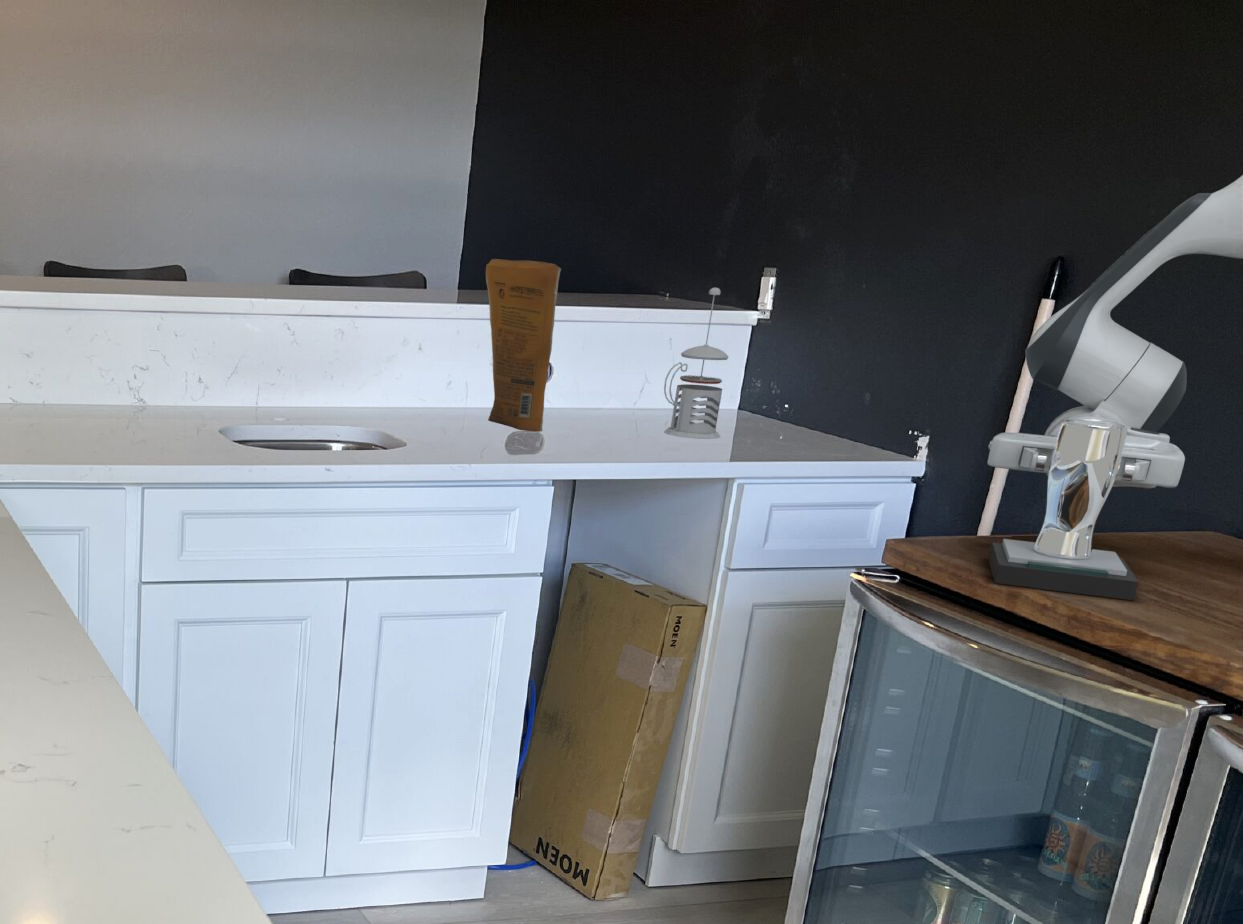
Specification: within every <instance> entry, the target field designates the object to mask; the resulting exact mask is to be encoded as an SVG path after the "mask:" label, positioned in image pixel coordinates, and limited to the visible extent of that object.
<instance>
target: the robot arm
mask: <svg viewBox="0 0 1243 924" xmlns="http://www.w3.org/2000/svg"><path fill="white" fill-rule="evenodd" d="M1196 254H1199V255H1211V256H1220V257H1226V258H1233V259H1242V260H1243V174H1242V175H1241V176H1240V177H1238V178H1237V179H1236V180H1234V181H1233V182H1231V183H1229V184H1228V185H1227V186H1225V187H1223V188H1221V189H1219V190H1217V191H1215V192H1212V193H1211V192H1198V193H1196V194H1195V195H1194V194H1193V196H1191V197H1189V198H1187V199H1186V200H1185V201H1183V202H1182V203H1180V204H1179V205H1177V206H1176V207H1175V208H1174V209H1173V210H1171V211H1170V212H1169V213H1168V214H1167V215H1166V216H1164V218H1163V219H1162V220H1161V221H1159V222H1158V223H1157V224H1156V225H1154V227H1152V228H1151V229H1149V230H1148V231H1147V232H1146V233H1145V234H1144V235H1143V236H1141V238H1140V239H1138V241H1136V242H1135V243H1134V244H1133V245H1132V246H1130V248H1129V249H1128V250H1126V252H1124V254H1123V255H1121V256H1119V258H1118V259H1116V261H1115V262H1114V263H1112V264H1111V265H1110V266H1109V267H1108V268H1107V269H1106V270H1105V271H1104V272H1103V273H1102V274H1101V275H1100V276H1099V277H1097V278H1096V280H1094V282H1092V283H1091V284H1090V285H1089V286H1088V287H1087V288H1085V290H1084V291H1083V292H1082V293H1081V294H1079V295H1078V296H1077V297H1076V298H1075V299H1074V300H1072V301H1071V302H1070V303H1068V304H1067V305H1065V306H1063V308H1061V309H1060V310H1058V311H1057V312H1055V313H1054V314H1053V315H1051V316H1049V318H1048V319H1047V320H1046V321H1044V323H1042V324H1041V325H1040V326H1039V328H1038V329H1037V330H1036V331H1035V333H1034V334H1033V335H1032V337H1031V339H1030V340H1029V342H1028V344H1027V347H1026V348H1025V349H1024V352H1025V353H1024V354H1025V362H1026V367H1027V370H1028V372H1029V375H1030V377H1031V379H1032V380H1034V381H1036V382H1038V383H1041V384H1042V385H1045V386H1047V387H1049V388H1050V389H1053V390H1055V391H1059V392H1061V393H1063V394H1064V395H1066V396H1068V397H1069V398H1071V399H1073V400H1075V401H1077V402H1078V403H1080V404H1081V406H1076V407H1073V408H1070V409H1068V410H1066V411H1064V412H1062V413H1061V414H1059V415H1058V416H1057V417H1056V418H1055V419H1053V421H1052V422H1051V423H1050V424H1049V426H1048V427H1047V428H1046V430H1045V432H1044V434H1043V435H1042V434H1035V433H1034V434H1033V433H1024V432H1000V433H998V434H996V435H994V436H993V438H992V440H990V442H988V445H987V447H988V450H989V454H988V459H987V465H988V466H990V467H993V468H997V469H1003V470H1004V469H1005V470H1012V471H1021V472H1031V473H1037V474H1038V473H1040V474H1045V475H1046V476H1047V477H1048V473H1049V466H1050V461H1051V456H1052V453H1053V449H1054V445H1055V442H1056V439H1057V436H1058V434H1059V431H1060V428H1061V425H1062V421H1063V419H1066V418H1082V419H1095V420H1104V421H1111V422H1117V423H1121V424H1125V425H1127V426H1128V429H1127V434H1126V440H1125V445H1124V451H1123V456H1122V460H1121V464H1120V467H1119V471H1118V474H1117V477H1116V479H1115V482H1114V484H1113V487H1112V488H1132V489H1134V488H1135V489H1154V488H1156V487H1161V488H1167V489H1175V488H1176V487H1178V485H1179V482H1180V481H1181V477H1182V473H1183V469H1184V465H1185V461H1186V457H1185V454H1184V452H1183V451H1182V450H1181V449H1180V447H1178V446H1177V444H1176V445H1175V444H1174V443H1171V442H1170V439H1171V437H1170V435H1168V434H1167V433H1162V432H1158V431H1159V430H1160V429H1161V428H1162V427H1163V426H1164V424H1166V422H1168V420H1169V419H1170V417H1171V416H1172V415H1173V414H1174V412H1175V411H1176V410H1177V408H1178V406H1179V405H1180V403H1181V402H1182V399H1183V397H1184V395H1185V393H1186V390H1187V382H1188V381H1187V380H1188V379H1187V378H1188V375H1187V373H1188V372H1187V367H1186V364H1185V361H1183V360H1181V359H1179V358H1178V357H1176V356H1174V355H1173V354H1171V353H1169V352H1168V351H1166V350H1164V349H1162V348H1161V347H1160V346H1158V345H1156V344H1154V343H1153V342H1151V341H1150V342H1149V341H1147V340H1146V339H1144V338H1142V337H1141V336H1139V335H1138V334H1136V333H1134V332H1132V331H1130V330H1129V329H1127V328H1125V327H1124V326H1122V325H1120V324H1119V323H1118V322H1115V320H1113V319H1112V317H1111V312H1112V310H1113V309H1114V308H1115V307H1117V305H1119V303H1120V302H1121V301H1123V300H1124V299H1126V297H1127V296H1128V295H1129V294H1131V293H1132V292H1133V291H1134V290H1135V289H1136V288H1137V287H1138V286H1139V285H1140V284H1142V283H1143V282H1144V281H1145V280H1146V279H1147V278H1148V277H1149V276H1150V275H1151V274H1153V273H1154V272H1155V271H1156V270H1157V269H1158V268H1159V267H1161V266H1162V265H1163V264H1165V263H1166V262H1168V261H1170V260H1172V259H1174V258H1177V257H1180V256H1186V255H1196Z"/></svg>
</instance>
